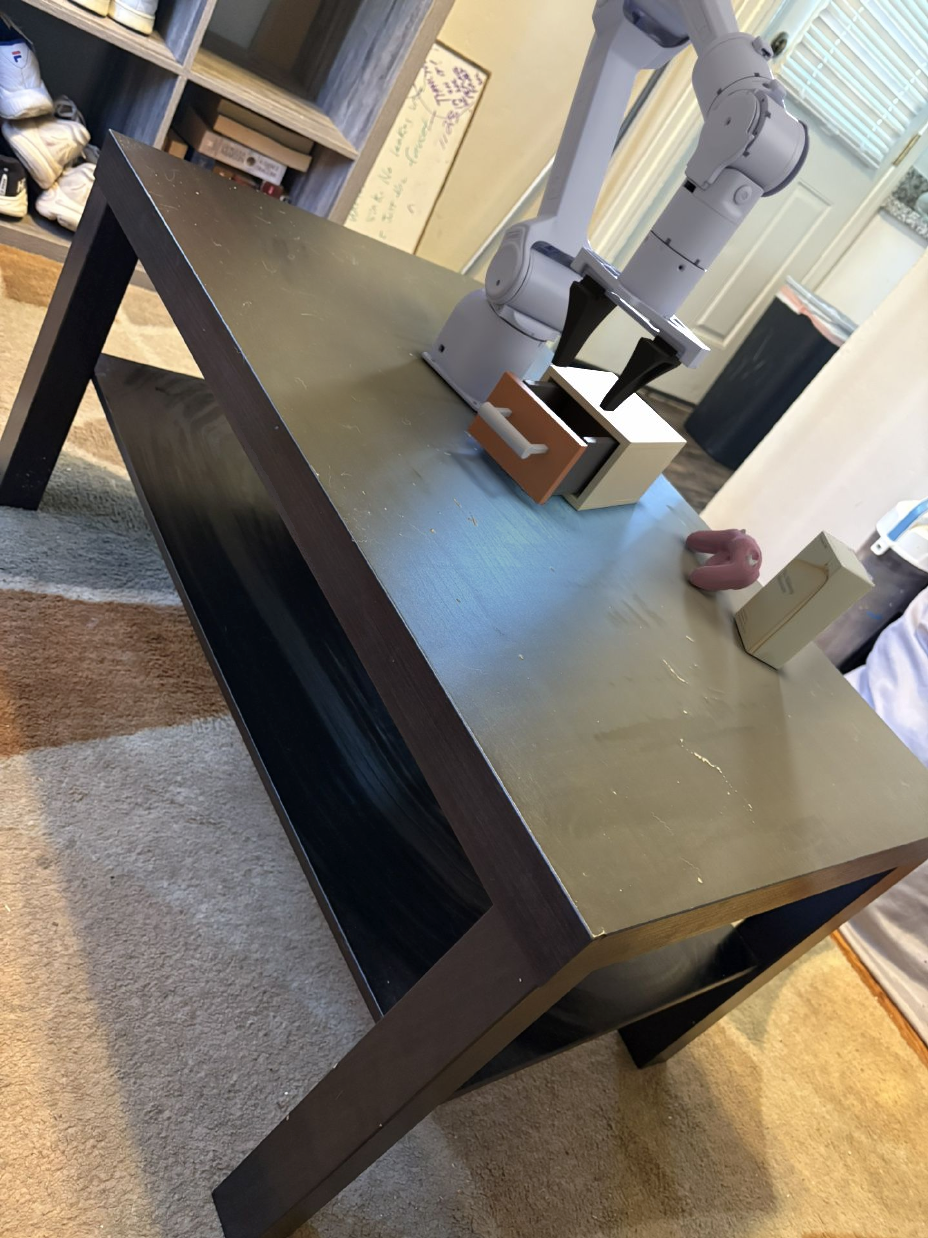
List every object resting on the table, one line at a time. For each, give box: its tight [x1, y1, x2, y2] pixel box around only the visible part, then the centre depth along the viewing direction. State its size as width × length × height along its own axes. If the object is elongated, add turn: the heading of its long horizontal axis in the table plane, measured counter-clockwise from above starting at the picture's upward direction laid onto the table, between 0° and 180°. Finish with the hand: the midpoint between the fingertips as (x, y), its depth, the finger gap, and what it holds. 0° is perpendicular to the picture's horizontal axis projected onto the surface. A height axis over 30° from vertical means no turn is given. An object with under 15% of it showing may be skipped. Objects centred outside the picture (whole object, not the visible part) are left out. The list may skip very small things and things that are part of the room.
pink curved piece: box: [685, 528, 763, 592], centre depth 91 cm, size 10×5×7 cm, turn 168°
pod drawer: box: [466, 371, 621, 505], centre depth 82 cm, size 17×10×7 cm, turn 137°
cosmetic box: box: [733, 530, 876, 670], centre depth 83 cm, size 6×4×12 cm
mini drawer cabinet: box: [538, 364, 688, 512], centre depth 91 cm, size 14×12×9 cm
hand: (582, 386), depth 79 cm, fingers open, 6 cm apart
